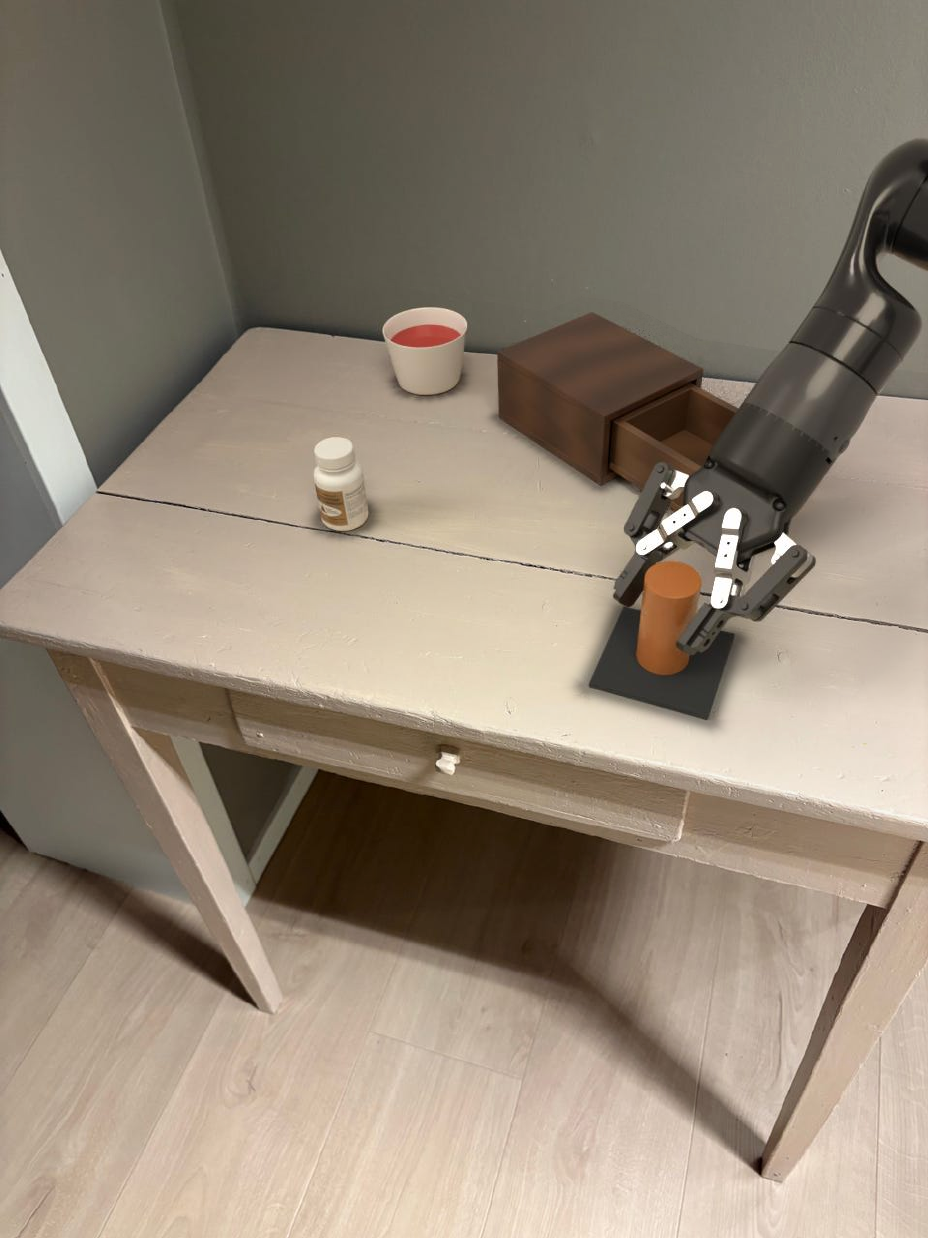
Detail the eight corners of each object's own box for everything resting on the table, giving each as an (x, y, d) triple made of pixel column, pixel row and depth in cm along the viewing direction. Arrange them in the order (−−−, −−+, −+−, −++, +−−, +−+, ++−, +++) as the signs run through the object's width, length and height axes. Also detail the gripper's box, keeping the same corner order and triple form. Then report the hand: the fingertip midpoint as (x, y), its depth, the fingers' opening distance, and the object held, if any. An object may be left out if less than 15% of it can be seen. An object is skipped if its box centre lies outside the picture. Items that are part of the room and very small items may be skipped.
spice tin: (694, 645, 74) (707, 567, 69) (681, 681, 72) (694, 603, 66) (644, 632, 76) (653, 555, 70) (629, 667, 73) (637, 590, 68)
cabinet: (694, 436, 96) (703, 368, 90) (600, 485, 91) (604, 416, 85) (589, 376, 105) (592, 311, 100) (498, 417, 100) (496, 351, 95)
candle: (373, 392, 105) (367, 339, 100) (412, 353, 110) (407, 301, 106) (447, 408, 102) (444, 354, 97) (483, 367, 107) (481, 314, 103)
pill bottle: (312, 519, 89) (298, 449, 84) (347, 497, 91) (335, 427, 86) (343, 538, 87) (331, 468, 81) (378, 515, 89) (369, 445, 84)
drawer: (817, 503, 86) (832, 449, 82) (730, 557, 81) (740, 502, 77) (688, 430, 95) (695, 377, 91) (603, 473, 90) (606, 421, 86)
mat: (734, 637, 75) (734, 633, 75) (707, 720, 70) (708, 715, 69) (623, 610, 78) (623, 605, 78) (589, 687, 72) (589, 682, 72)
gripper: (692, 366, 68) (560, 564, 71) (863, 455, 59) (704, 675, 63) (732, 405, 74) (608, 586, 77) (894, 491, 65) (746, 691, 68)
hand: (652, 625), depth 70 cm, fingers open, 6 cm apart
